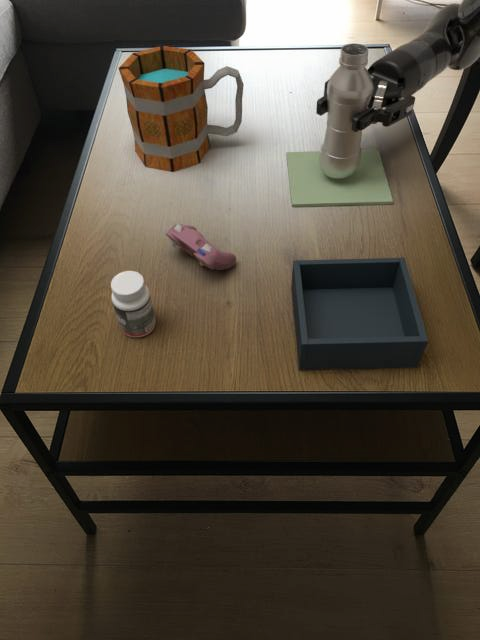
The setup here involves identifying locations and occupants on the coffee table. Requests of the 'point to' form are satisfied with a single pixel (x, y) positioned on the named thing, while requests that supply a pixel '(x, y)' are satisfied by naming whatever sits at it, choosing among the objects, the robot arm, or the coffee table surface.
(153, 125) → the mug
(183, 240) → the pink curved plastic piece
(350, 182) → the mat
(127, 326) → the pill bottle
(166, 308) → the coffee table surface
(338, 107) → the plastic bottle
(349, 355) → the bin
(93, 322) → the coffee table surface
